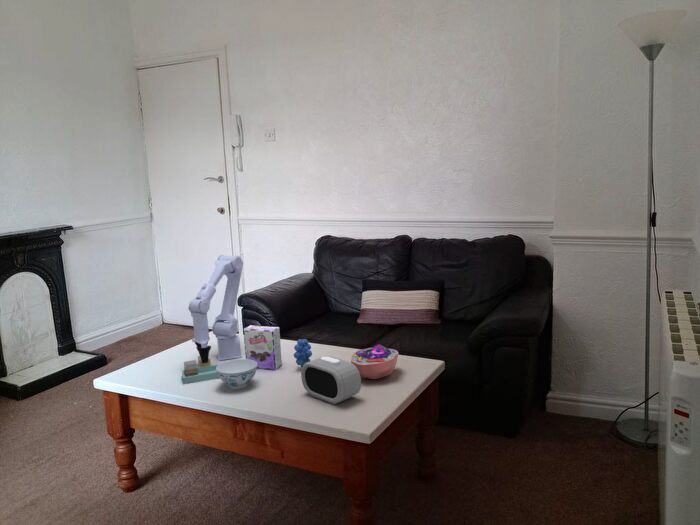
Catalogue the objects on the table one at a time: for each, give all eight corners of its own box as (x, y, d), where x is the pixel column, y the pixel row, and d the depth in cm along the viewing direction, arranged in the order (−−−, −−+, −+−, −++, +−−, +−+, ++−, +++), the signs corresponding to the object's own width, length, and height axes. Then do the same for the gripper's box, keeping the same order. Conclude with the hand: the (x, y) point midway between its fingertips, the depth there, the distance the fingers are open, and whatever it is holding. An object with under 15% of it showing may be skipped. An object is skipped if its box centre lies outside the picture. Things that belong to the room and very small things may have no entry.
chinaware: (209, 387, 213) (207, 368, 212) (241, 375, 224) (240, 356, 223) (234, 396, 204) (233, 376, 202) (267, 383, 215) (265, 363, 213)
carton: (210, 365, 239) (209, 354, 238) (211, 368, 234) (210, 358, 233) (198, 367, 237) (197, 356, 236) (199, 370, 233) (198, 359, 232)
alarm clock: (301, 393, 203) (299, 357, 201) (321, 385, 210) (319, 350, 207) (341, 409, 188) (339, 370, 186) (362, 399, 195) (360, 362, 193)
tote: (220, 370, 232) (219, 364, 231) (223, 377, 223) (222, 371, 223) (182, 376, 227) (181, 370, 227) (184, 384, 218) (183, 377, 218)
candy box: (245, 367, 233) (242, 328, 230) (253, 362, 238) (250, 324, 236) (275, 370, 228) (272, 330, 225) (282, 365, 233) (279, 326, 231)
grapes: (305, 373, 223) (303, 343, 221) (291, 371, 226) (288, 342, 224) (320, 363, 233) (318, 334, 231) (305, 361, 236) (303, 333, 234)
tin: (197, 374, 227) (195, 359, 226) (198, 378, 222) (197, 363, 221) (185, 376, 225) (183, 361, 224) (186, 380, 221) (184, 365, 220)
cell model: (340, 379, 215) (338, 350, 213) (375, 364, 229) (373, 336, 227) (375, 389, 203) (373, 359, 201) (409, 372, 218) (408, 344, 216)
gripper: (189, 325, 238) (192, 356, 240) (192, 333, 225) (195, 366, 227) (206, 322, 241) (209, 353, 243) (210, 331, 227) (213, 364, 229)
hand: (204, 360), depth 235 cm, fingers open, 7 cm apart
